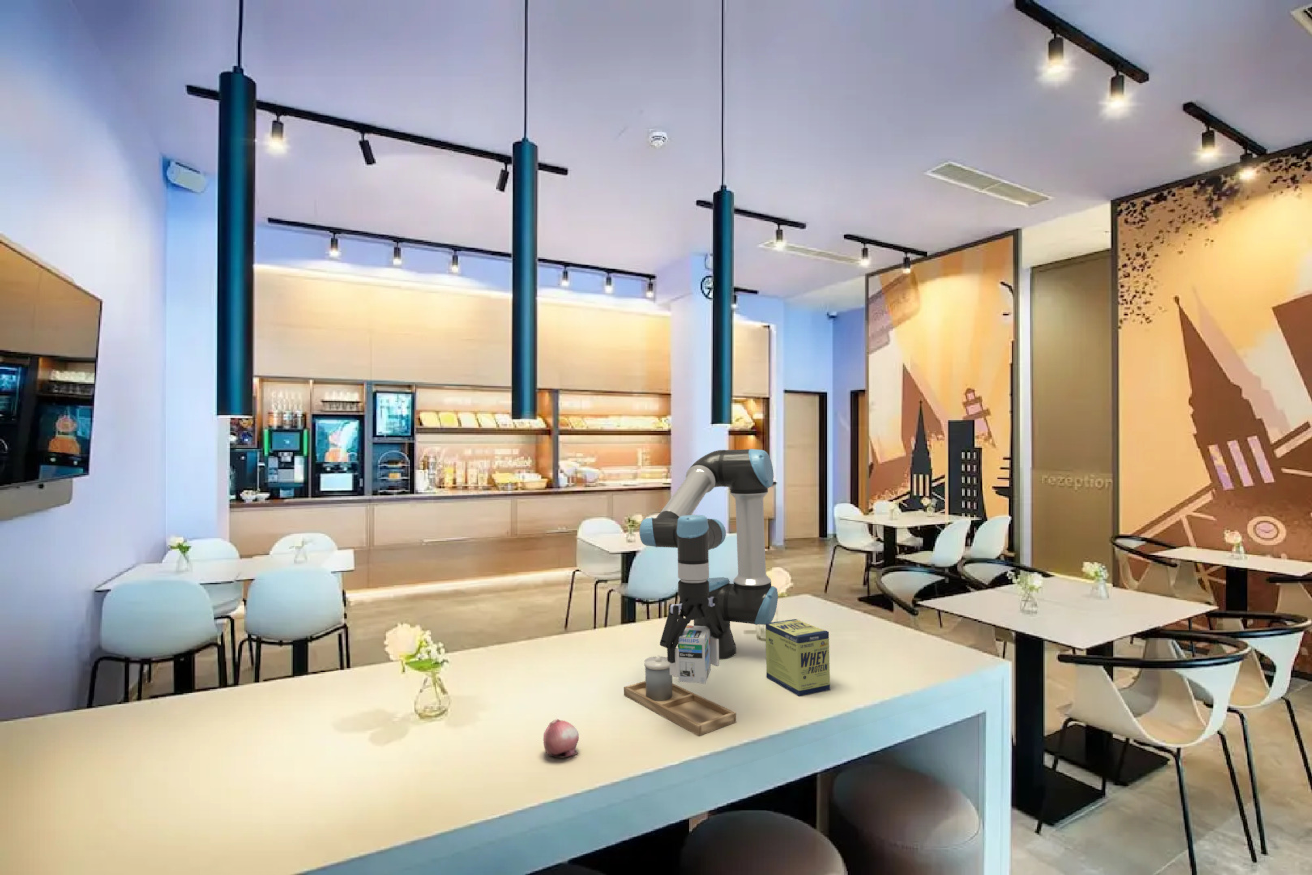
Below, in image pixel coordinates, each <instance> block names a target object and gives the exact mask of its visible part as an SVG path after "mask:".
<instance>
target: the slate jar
mask: <svg viewBox="0 0 1312 875" xmlns="http://www.w3.org/2000/svg"><path fill="white" fill-rule="evenodd" d="M643 664H644V670H645V671H644V672H645V674H644V675H645V679H644V681H645V685H646V697H648V698H650V699H652V700H654V701H666V700H669V699H671V698H672V696H673V691H672V683H673V676H672V675H670V662H668V660H667V656H661V655H657V656H650V657H647V658H645V659H644V663H643Z"/></svg>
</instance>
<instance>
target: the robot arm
mask: <svg viewBox="0 0 1312 875" xmlns="http://www.w3.org/2000/svg"><path fill="white" fill-rule="evenodd" d="M774 477H775V474H774V466H773V462H772V460H771V457H770V455H769V453H768V452H767V451H766V450H764V449H756V448H755V449H754V448H749V449H748V448H747V449H718V450H714V451H712V452H709V453H707V454H705V455H703V456H702V457H699V459H697V460H696V461H695V462H694V463H693V464H691V465H690V467H689V468H688V469H687V471H686V474H685V479H684V480H683V482H682V483H681V484H680V486H679V487H678V488H677V489H676V491H675V492H674V494H673V495H672V496H671V498H670V499H669V501H668V502H667V503H666V504H665V505H664V506H663V509H662V510H661V511H660V512H659V514H658V515H657V516H656V517H649V518H644V519H643V520H642V521H641V522H640V526H639V532H638V533H639V534H638V535H639V538H640V539H639V540H640V542H641V544H643V545H644V546H646V547H654V548H673V549H674V548H675V549H676V548H677V577H678V579H679V580H678V583H677V595H678V597H679V601H678V603H676V604H673V603H669V604H668V609H667V610H668V614H667V617H666V622H665V623H664V624H665V625H664V628H663V631H662V635H661V637H660V638H661V639H660V641H659V645H660V646H661V647H662V648H666V653H667V654H666V655H667V656H666V657H667V660H668V662H670V675H672V677H675V678H678V679H679V649H678V643H679V636H682V634H683V632H684V630H685V628H686V626H687V625H690V623H691V621H693V626H706V627H708V628H709V629H710V650H711V666H715V667H719V666H720V660H723V659H728V658H731V657H734V656H735V655H736V654H737V644H736V642H735V638H734V635H733V632H732V630H731V622H732V623H743V624H751V625H755V626H758V625H763V626H766V623H771V622H773V620H774V618H775V615H776V613H777V607H778V600H779V593H778V588H777V587H776V586H775V585H774V586H773V585H772V579H771V578H770V577H769V576H768V575H767V570H766V569H767V567H766V541H765V540H766V539H765V510H764V497H765V496H767V494H769V488H771V487H773V485H774ZM717 487H718V488H719V487H723V488H725V487H726V488H729V489H730V490H729V493H730V494H731V496H733V498H734V500H735V501H734V502H735V520H736V521H735V523H736V524H735V525H736V528H735V529H736V550H737V555H736V556H737V575H736V576H735V577H734V578H733V583H731V581H730V579H729V578H728V577H724V576H723V577H711V578H710V567H709V566H710V564H709V563H710V561H709V558H710V557H709V550H714V549H715V548H718V547H719V546H720V545H721V544H723V543H724V541H725V540H726V536H727V531H726V527H725V526H724V525H725V524H723V523H722V521H720V520H719V519H716V518H708V517H707V516H705V515H701V514H700V515H699V514H693V513H694V512H695V510H696V508H697V507H698V506H699V505H700V503H701V502H702V500H703V499H704V497H705V495H706V494H708V493H710V492H711V491H713V489H714V488H717Z"/></svg>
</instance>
